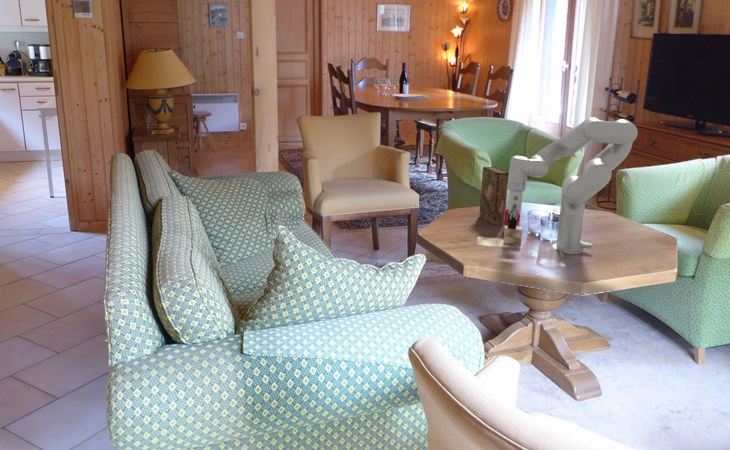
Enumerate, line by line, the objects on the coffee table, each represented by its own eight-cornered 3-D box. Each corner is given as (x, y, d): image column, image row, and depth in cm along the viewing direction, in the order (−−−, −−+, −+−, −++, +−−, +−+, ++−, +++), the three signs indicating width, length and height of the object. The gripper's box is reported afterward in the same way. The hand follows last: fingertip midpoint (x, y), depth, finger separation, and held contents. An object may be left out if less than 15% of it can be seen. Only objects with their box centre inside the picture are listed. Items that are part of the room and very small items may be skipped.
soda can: (521, 235, 308) (524, 209, 305) (508, 236, 306) (510, 210, 302) (512, 231, 315) (515, 205, 311) (499, 232, 312) (501, 206, 309)
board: (519, 242, 298) (519, 239, 298) (520, 251, 287) (521, 248, 287) (477, 239, 301) (477, 236, 301) (477, 247, 290) (477, 245, 289)
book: (505, 225, 324) (510, 172, 317) (495, 225, 322) (499, 173, 315) (489, 215, 339) (493, 165, 332) (479, 216, 337) (483, 166, 330)
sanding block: (520, 242, 294) (521, 226, 292) (520, 245, 290) (522, 229, 288) (503, 241, 295) (504, 225, 294) (503, 244, 291) (505, 228, 289)
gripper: (526, 191, 277) (521, 232, 282) (524, 182, 293) (519, 220, 298) (508, 189, 278) (502, 230, 283) (506, 180, 295) (501, 219, 299)
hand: (511, 225), depth 291 cm, fingers open, 9 cm apart
